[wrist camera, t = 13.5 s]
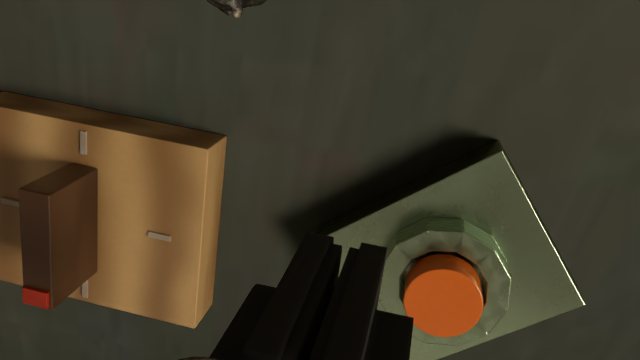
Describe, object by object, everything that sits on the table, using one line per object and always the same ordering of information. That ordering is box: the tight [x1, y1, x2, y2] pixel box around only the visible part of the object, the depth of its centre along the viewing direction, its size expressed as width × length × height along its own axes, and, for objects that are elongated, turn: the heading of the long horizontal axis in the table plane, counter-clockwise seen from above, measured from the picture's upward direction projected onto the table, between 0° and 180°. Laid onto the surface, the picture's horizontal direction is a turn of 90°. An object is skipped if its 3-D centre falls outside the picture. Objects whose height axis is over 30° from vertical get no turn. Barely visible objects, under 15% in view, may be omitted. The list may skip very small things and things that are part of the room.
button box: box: [315, 140, 585, 360], centre depth 32 cm, size 12×10×4 cm
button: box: [403, 254, 483, 337], centre depth 30 cm, size 4×4×2 cm
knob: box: [18, 163, 98, 310], centre depth 32 cm, size 7×2×5 cm, turn 171°
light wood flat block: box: [0, 91, 227, 328], centre depth 36 cm, size 15×12×3 cm
